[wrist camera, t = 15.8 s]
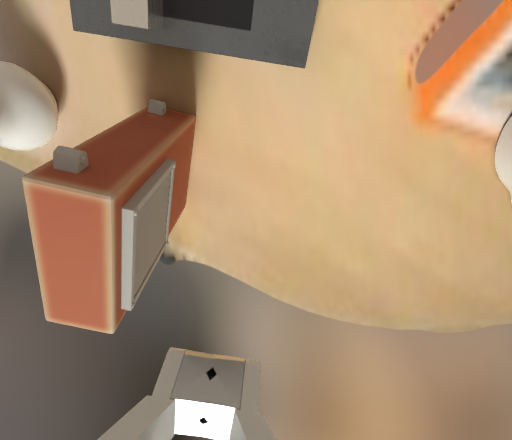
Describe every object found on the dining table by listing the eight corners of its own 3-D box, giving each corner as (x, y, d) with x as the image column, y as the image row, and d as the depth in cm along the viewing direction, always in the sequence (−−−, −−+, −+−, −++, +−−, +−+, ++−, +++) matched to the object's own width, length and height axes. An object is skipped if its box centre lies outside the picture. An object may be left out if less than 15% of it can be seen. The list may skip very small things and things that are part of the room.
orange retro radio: (140, 205, 44) (144, 91, 37) (190, 216, 44) (205, 106, 37) (37, 330, 26) (3, 152, 18) (124, 348, 26) (127, 181, 18)
